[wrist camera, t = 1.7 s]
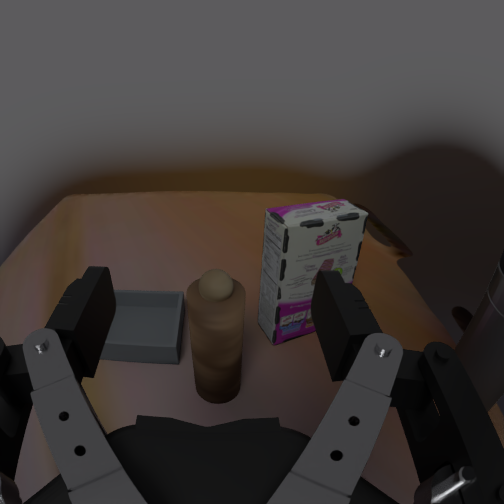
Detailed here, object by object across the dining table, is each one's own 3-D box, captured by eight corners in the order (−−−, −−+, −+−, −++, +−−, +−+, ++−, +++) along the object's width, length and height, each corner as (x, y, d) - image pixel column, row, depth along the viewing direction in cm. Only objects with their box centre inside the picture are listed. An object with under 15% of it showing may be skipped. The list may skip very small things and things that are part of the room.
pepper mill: (238, 369, 35) (244, 256, 27) (241, 403, 30) (249, 290, 23) (196, 368, 34) (187, 255, 27) (195, 403, 30) (182, 290, 22)
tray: (184, 308, 43) (183, 291, 41) (178, 364, 34) (176, 347, 33) (110, 306, 42) (106, 289, 40) (91, 358, 33) (84, 341, 32)
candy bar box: (322, 301, 46) (344, 197, 38) (342, 322, 42) (371, 213, 34) (254, 322, 42) (264, 205, 33) (271, 347, 38) (288, 225, 30)
